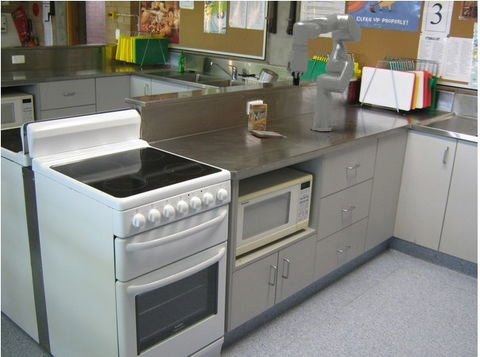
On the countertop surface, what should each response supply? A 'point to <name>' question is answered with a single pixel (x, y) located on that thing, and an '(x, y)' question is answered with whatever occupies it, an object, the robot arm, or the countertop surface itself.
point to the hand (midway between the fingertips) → (295, 85)
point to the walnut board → (266, 134)
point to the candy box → (257, 117)
